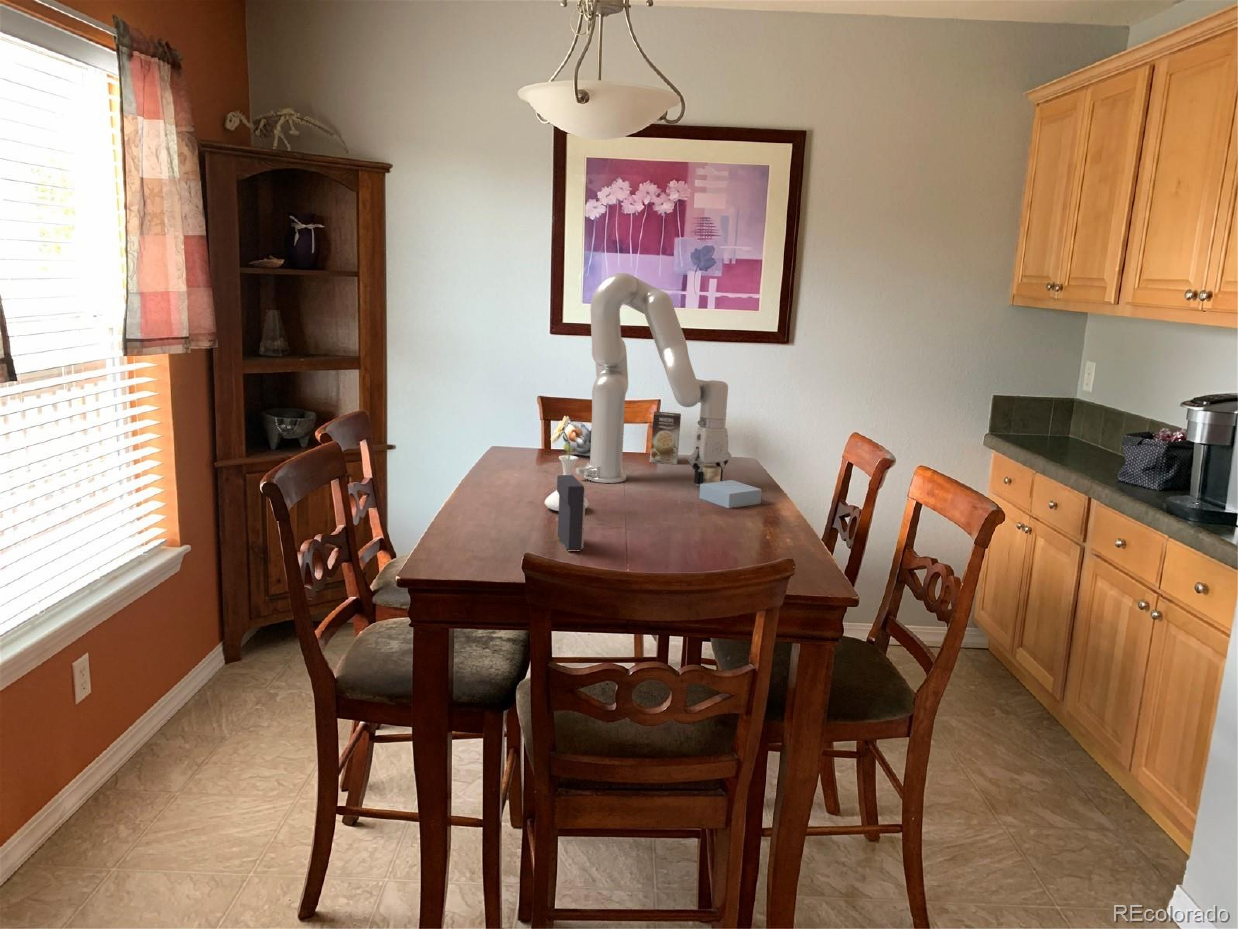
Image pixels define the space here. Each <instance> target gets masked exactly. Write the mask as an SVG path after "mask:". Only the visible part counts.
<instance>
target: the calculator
mask: <svg viewBox="0 0 1238 929" xmlns="http://www.w3.org/2000/svg"><path fill="white" fill-rule="evenodd" d="M556 478H557V479H556V490H557V492H558V493H559V511H558V514H557V516H558V517H557V519H558V520H557V538H558V537H559V539H560V540H559V539H558V540H559V542H560V541H562V543H563V544H564V545H565V547H566V548H567V549H568V550H581V551H582V549H584V540H585V538H584V536H585V528H584V527H585V519H586V518H585V517H586V516H585V515H586V509H585V505H584V501H585V498H586V497H585V495H586V487H585V486H584V485H583V483H581V482H580V481H579V480H578V479H577V478H576V477H575V476H574V475H573V474H572V475H563V474H559V475H557V477H556ZM562 543H561V544H562ZM563 544H562V545H563ZM565 547H564V548H565ZM566 548H565V549H566Z"/></svg>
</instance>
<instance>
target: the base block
mask: <svg viewBox="0 0 1238 929" xmlns="http://www.w3.org/2000/svg"><path fill="white" fill-rule="evenodd" d="M762 492H763V491H762V488H759V487H756V486H752V485H749V484H745V483H743V482H739V481H737V480H733V479H730V480H729V479H728V480H722V481H720V482H712V483H705V484H700V486H699V496H698V498H699V499H701V500H704V501H706V500H707V501H706V502H709V503H712V504H716V505H717V506H720V507H723V508H726V509H734V508H740V507H746V506H753V505H754V506H755V505H760V504H761V502H762ZM733 507H734V508H733Z"/></svg>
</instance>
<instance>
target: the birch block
mask: <svg viewBox="0 0 1238 929" xmlns="http://www.w3.org/2000/svg"><path fill="white" fill-rule="evenodd" d="M699 466H700V464H699ZM702 472H703V484H705V483H712V482H720V477H721V467H718V466H716V465H714V464H713V463H707V464H706V463H705V465H704V467H703V470H702ZM695 486H698V487H700V485H698V484H695Z"/></svg>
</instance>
